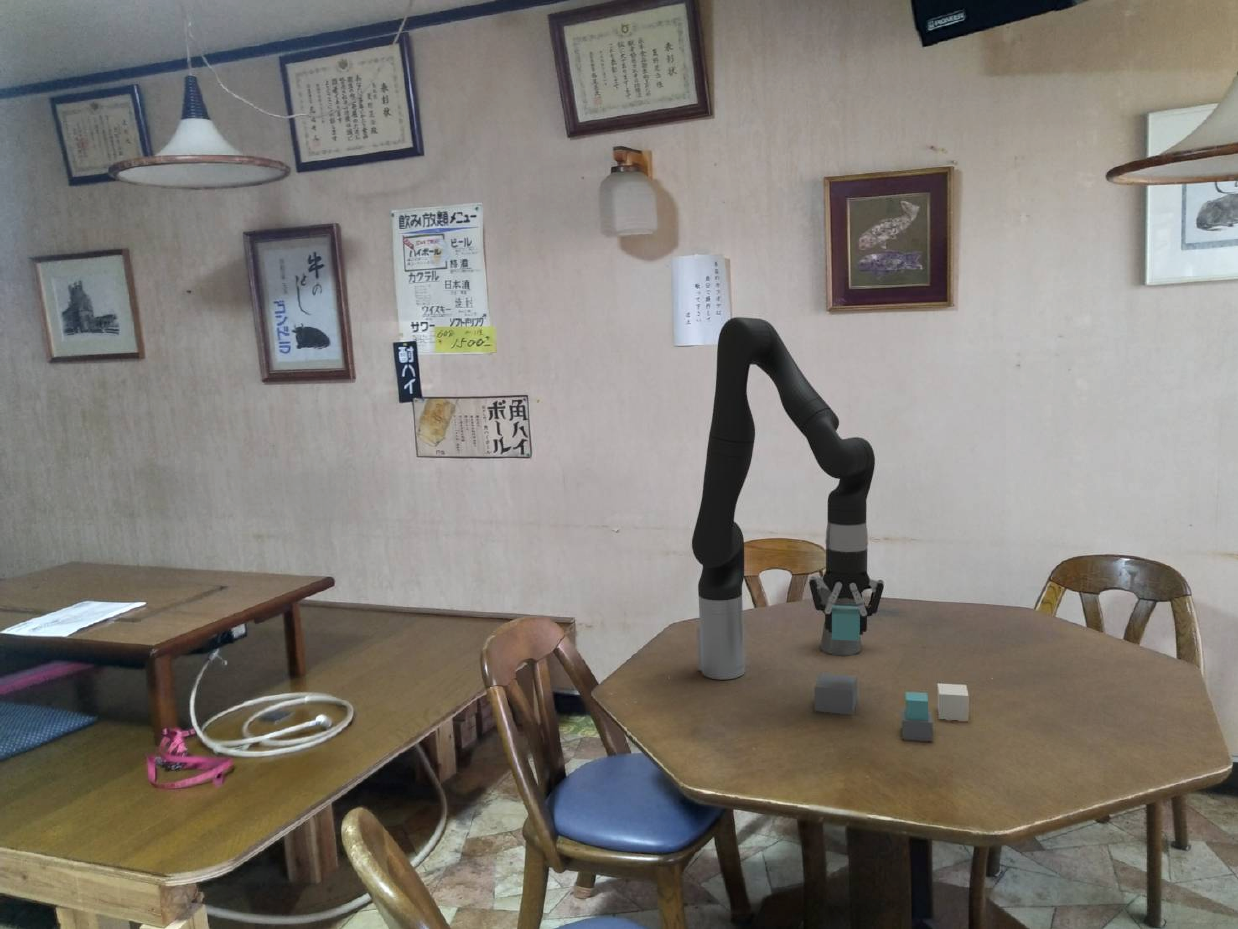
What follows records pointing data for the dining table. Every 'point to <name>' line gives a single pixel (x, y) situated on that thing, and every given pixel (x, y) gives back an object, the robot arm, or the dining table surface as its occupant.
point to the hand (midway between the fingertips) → (845, 632)
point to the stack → (917, 718)
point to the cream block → (953, 702)
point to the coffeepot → (827, 642)
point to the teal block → (846, 623)
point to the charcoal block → (836, 694)
